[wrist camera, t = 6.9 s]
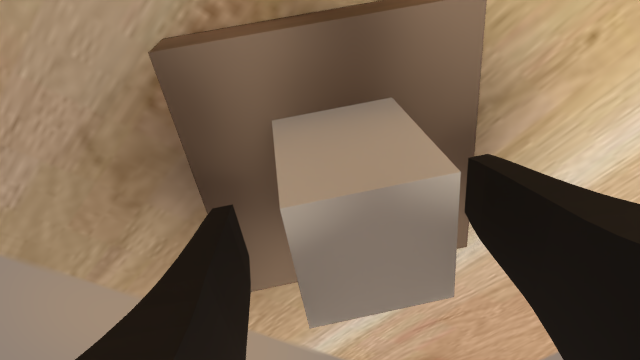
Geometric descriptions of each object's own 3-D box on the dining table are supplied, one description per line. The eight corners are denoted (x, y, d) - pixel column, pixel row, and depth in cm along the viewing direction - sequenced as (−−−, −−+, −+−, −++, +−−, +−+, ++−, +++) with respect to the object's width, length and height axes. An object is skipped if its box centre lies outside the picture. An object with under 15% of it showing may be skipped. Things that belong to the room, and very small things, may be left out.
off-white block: (294, 217, 15) (309, 328, 10) (271, 120, 12) (280, 208, 8) (396, 197, 15) (453, 296, 10) (391, 97, 13) (461, 172, 8)
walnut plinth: (239, 261, 18) (237, 294, 16) (162, 38, 13) (148, 52, 11) (447, 219, 18) (466, 246, 17) (457, -13, 13) (487, -8, 11)
